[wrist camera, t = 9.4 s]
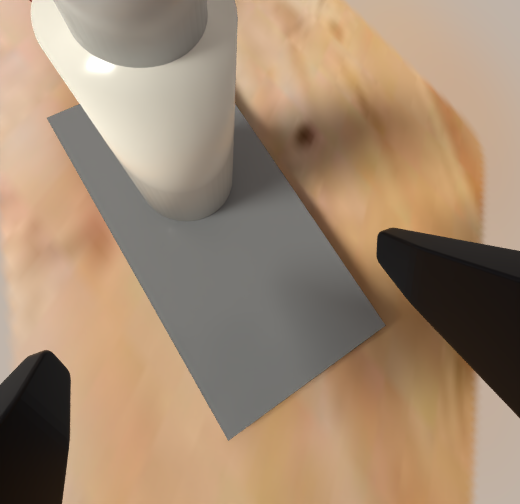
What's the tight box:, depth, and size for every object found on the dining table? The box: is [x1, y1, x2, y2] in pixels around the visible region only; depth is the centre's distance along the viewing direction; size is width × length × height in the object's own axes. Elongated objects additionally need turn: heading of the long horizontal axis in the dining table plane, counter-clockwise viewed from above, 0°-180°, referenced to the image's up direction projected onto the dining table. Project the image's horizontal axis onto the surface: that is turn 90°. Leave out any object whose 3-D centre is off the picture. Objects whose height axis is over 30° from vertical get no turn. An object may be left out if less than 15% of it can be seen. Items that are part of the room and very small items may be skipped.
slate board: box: [47, 104, 386, 441], centre depth 17 cm, size 20×10×1 cm, turn 32°
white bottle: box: [31, 0, 238, 221], centre depth 11 cm, size 5×5×12 cm
